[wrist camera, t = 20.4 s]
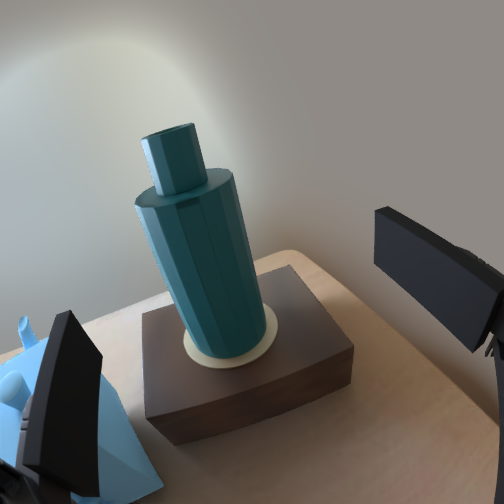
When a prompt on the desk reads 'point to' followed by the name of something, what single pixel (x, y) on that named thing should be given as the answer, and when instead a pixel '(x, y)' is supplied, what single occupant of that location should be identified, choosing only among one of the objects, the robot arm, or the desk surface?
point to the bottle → (201, 244)
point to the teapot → (109, 428)
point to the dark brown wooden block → (243, 365)
